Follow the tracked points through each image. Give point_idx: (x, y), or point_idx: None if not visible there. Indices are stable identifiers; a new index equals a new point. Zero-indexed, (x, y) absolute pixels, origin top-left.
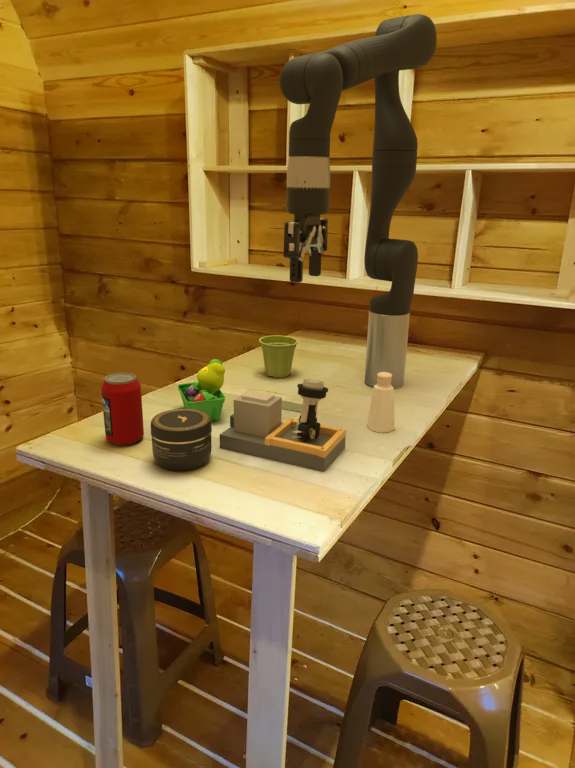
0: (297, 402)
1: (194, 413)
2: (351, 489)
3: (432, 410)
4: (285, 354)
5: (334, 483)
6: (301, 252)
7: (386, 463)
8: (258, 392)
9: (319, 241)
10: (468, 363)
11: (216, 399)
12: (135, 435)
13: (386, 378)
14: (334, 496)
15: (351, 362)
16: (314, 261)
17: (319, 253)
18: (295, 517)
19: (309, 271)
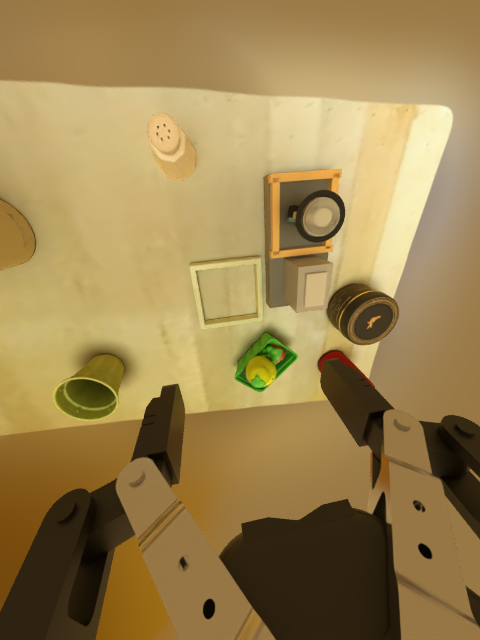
0: (195, 288)
1: (358, 321)
2: (356, 119)
3: (40, 88)
4: (101, 373)
5: (349, 147)
6: (425, 446)
7: (279, 99)
8: (306, 295)
9: (208, 546)
10: None
11: (279, 342)
12: (340, 354)
13: (175, 123)
14: (375, 133)
15: None
16: (175, 443)
17: (159, 471)
18: (418, 154)
19: (183, 419)
